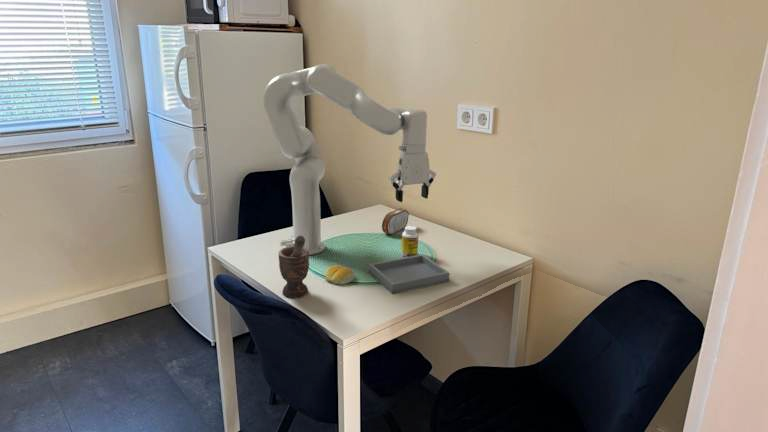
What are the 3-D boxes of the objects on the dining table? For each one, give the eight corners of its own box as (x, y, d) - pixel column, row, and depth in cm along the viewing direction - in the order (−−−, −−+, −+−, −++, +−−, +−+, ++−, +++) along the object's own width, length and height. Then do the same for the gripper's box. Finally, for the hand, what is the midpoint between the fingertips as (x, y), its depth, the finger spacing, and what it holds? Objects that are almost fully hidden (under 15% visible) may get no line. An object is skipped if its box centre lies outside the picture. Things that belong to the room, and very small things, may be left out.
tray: (392, 293, 156) (392, 284, 155) (368, 272, 169) (368, 264, 168) (448, 281, 164) (449, 272, 163) (422, 262, 178) (422, 254, 177)
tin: (403, 225, 212) (403, 205, 210) (409, 227, 211) (410, 206, 208) (380, 235, 201) (381, 214, 198) (387, 237, 199) (388, 216, 196)
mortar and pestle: (322, 296, 153) (321, 231, 147) (298, 306, 147) (296, 239, 141) (298, 283, 161) (296, 221, 154) (274, 292, 155) (271, 228, 148)
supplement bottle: (407, 259, 180) (408, 231, 176) (398, 254, 184) (399, 226, 181) (420, 256, 183) (422, 228, 179) (411, 251, 187) (412, 223, 184)
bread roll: (337, 270, 170) (337, 259, 169) (358, 279, 165) (358, 267, 164) (318, 279, 164) (318, 267, 163) (339, 288, 159) (339, 275, 158)
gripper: (395, 153, 164) (394, 205, 170) (442, 148, 172) (440, 199, 177) (384, 148, 170) (383, 199, 176) (430, 144, 178) (428, 193, 184)
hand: (412, 199), depth 177 cm, fingers open, 9 cm apart
